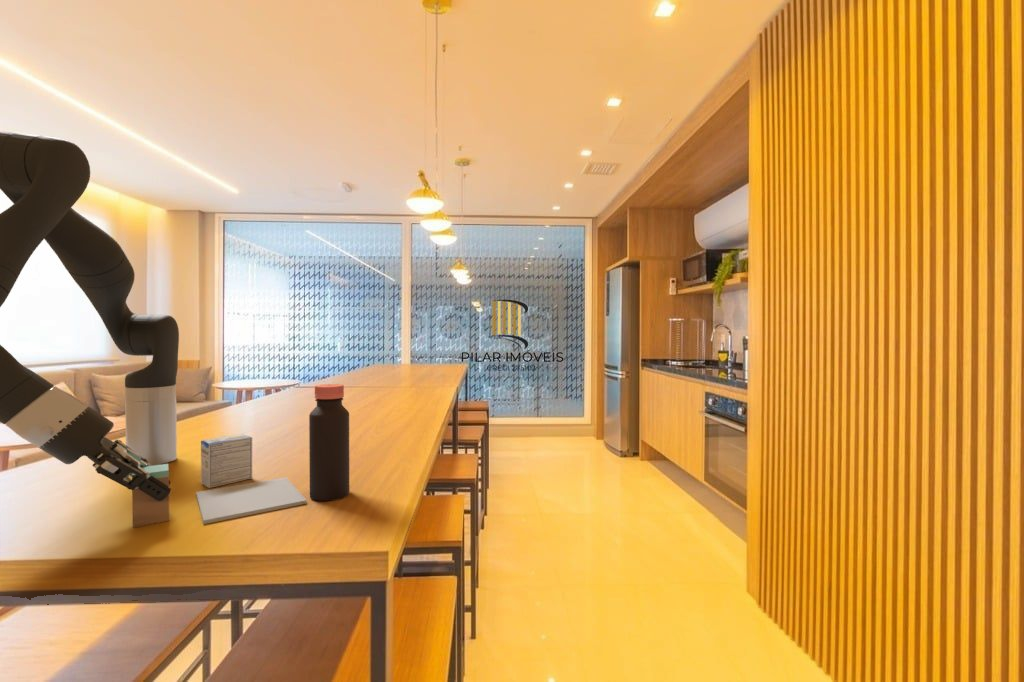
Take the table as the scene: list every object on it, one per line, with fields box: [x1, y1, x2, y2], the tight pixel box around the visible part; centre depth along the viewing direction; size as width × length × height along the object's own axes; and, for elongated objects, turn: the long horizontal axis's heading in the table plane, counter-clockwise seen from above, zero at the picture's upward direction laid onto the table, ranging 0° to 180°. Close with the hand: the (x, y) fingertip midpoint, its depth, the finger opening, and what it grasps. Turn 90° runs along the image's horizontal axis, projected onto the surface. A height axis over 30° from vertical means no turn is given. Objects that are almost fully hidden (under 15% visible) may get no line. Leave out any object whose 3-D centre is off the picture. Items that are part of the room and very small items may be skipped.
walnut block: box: [131, 463, 170, 529], centre depth 76 cm, size 4×4×8 cm
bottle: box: [308, 383, 350, 502], centre depth 87 cm, size 7×7×20 cm
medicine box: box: [200, 433, 253, 489], centre depth 95 cm, size 8×4×9 cm, turn 141°
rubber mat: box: [195, 476, 307, 525], centre depth 85 cm, size 16×15×1 cm
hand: (165, 491), depth 77 cm, fingers closed on walnut block, 4 cm apart
